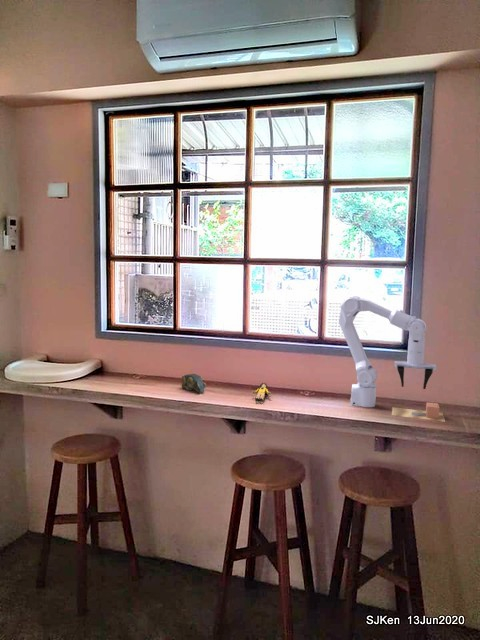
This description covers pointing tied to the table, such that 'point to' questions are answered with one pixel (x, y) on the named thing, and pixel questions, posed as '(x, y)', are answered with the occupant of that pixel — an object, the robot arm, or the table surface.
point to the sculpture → (193, 383)
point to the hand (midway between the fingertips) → (413, 387)
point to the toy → (261, 393)
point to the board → (414, 414)
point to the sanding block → (432, 410)
